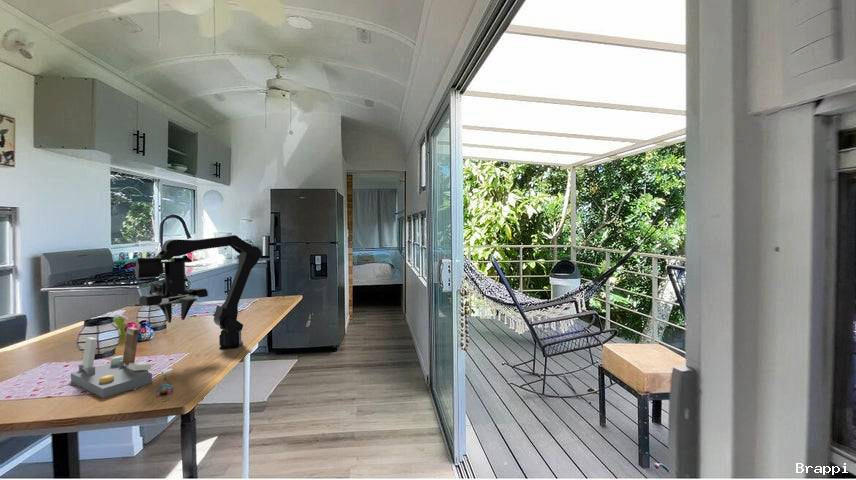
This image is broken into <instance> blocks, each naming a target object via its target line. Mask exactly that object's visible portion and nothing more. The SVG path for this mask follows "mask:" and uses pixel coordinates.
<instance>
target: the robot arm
mask: <svg viewBox="0 0 856 480" xmlns="http://www.w3.org/2000/svg"><path fill="white" fill-rule="evenodd" d="M223 247H230V248H232V249H233V250H234V251H235V252H237V253H238V254H239V255H238V266H237V270H236V272H235V275H234V278H233V281H232V282H231V285H230V288H229V291H228V293H227V296H226V298H225V300H224V302H223V303H222V304H221V305H216V307H215V312H214V313H213V314H212V316H213V322H214V324H215V325H216V326H218V327H219V329H220V330H221V331H220V334H219V335H218V338H219V343H218V344H219V348H218V349H219V350H222V349H223V350H224V349H236V348H239V347H240V346H242V344H243V342H244V341H243V340H242V331H243V327H244V324H243V323H242V322H240V321H239V320H238V314H239V311H238V310H239V302H240V301H241V298H242V295H243V293H244V290H245V288H246V284H247V281H248V279H249V275H250V273H251V272H252V270H253V268H254V267H255V266H256V265H257V264H258V263H259V260H260V259H261V258H262V250H261V248H259V247H258V246H255V245H252V244H251V243H249V242H247V241H245V240H244V239H242V238H240V237H239V236H238V235H235V234H229V235H225V236H218V237H208V238H201V239H168V240H165V242H164V243H163V244H162V249H161V250H160V251H159V253H158V254H157V255H156V256H155V257H137V258H136V262H135V263H136V264H135V268H134V273H135V278H136V280H141V279H155V278H160V275H161V276H162V275H163V274H164V279H162V284H159V283H156V282H155V283H151V284H150V287H149V288H150V290H149V291H150V294H145V295H144V294H142V295H141V296H140V297H139V299H138V301H139V302H138V303H139V305H140V306H141V305H142V306H146V307H147V306H149V307H150V306H157V307H159V308H160V309H161V311H162V313H163V315H164V317H165V319H166V321H167V323H171V322H172V313H173V311H172V309H173V308H172V305H173V304H172V302H170V301H171V300H176V299H179V301H180V304H181V307H180V311H181V312H180V319H181V320H182V321H185V320H186V318H187V315H188V313H189V311H190V309H191V307H192V305H193V304H194V303H195V302H196V301H197V300H198V298H205V297H209V291H208V290H207V288H205V287H202V288H201V287H196V288H189V289H186V286H187V285H186V282H188V278H187V277H186V263H191V262H193V260H192V259H190V257H189V256H188V255H187V254H190V253H193V252H197V251H202V250H209V249H215V248H223ZM181 256H182V257H181ZM196 296H197V298H196Z"/></svg>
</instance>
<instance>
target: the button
mask: <svg viewBox="0 0 856 480" xmlns="http://www.w3.org/2000/svg"><path fill="white" fill-rule="evenodd" d="M123 356H124V354H123V355H116V356H112V357H110V363H111V366H119V361H121V360H123Z"/></svg>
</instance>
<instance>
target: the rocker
mask: <svg viewBox="0 0 856 480" xmlns="http://www.w3.org/2000/svg"><path fill="white" fill-rule="evenodd" d="M128 368H129V369H131V370H134V371H137V370H148V371H150V370H152V363H148V362H146V361H143V362H141V361H140V362H134V363H129V366H128Z"/></svg>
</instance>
